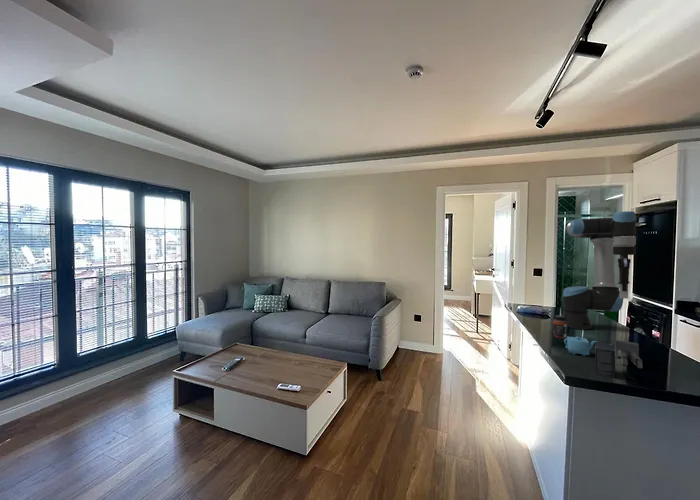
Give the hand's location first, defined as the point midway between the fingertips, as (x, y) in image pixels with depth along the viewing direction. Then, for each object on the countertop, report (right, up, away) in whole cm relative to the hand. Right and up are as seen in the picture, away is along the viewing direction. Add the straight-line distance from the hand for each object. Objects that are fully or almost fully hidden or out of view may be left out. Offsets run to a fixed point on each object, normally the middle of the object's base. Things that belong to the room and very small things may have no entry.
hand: (623, 298), depth 134 cm
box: (-26, -26, -21) cm, 42 cm away
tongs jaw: (-7, -25, -12) cm, 28 cm away
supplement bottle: (-14, -24, +22) cm, 35 cm away
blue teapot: (-21, -25, -1) cm, 32 cm away
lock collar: (-6, -25, -8) cm, 26 cm away
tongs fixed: (-8, -25, -9) cm, 27 cm away
